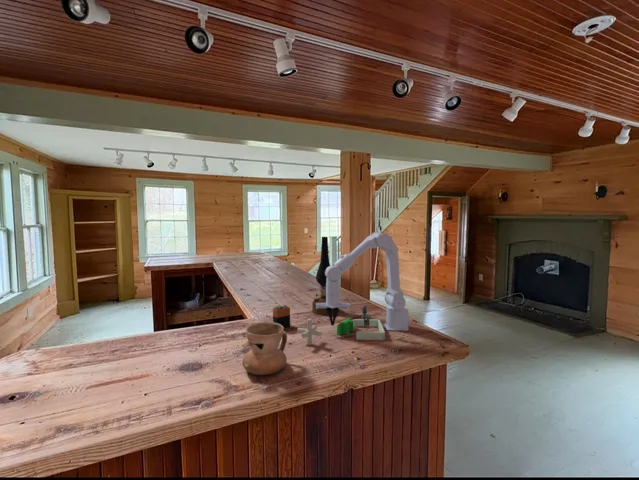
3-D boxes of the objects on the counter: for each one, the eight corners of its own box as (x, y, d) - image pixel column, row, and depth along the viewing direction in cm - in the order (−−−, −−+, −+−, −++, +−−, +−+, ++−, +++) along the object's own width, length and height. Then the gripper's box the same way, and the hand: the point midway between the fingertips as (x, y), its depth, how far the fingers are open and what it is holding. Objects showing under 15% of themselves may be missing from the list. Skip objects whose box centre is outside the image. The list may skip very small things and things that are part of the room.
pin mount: (370, 324, 148) (371, 316, 148) (361, 324, 148) (361, 316, 148) (370, 322, 151) (370, 314, 151) (361, 322, 152) (361, 314, 151)
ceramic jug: (255, 387, 96) (255, 341, 95) (230, 369, 106) (230, 328, 105) (300, 367, 109) (301, 326, 108) (274, 353, 119) (275, 316, 118)
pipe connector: (326, 341, 130) (326, 317, 129) (315, 351, 121) (315, 325, 120) (304, 337, 134) (303, 314, 133) (292, 346, 125) (291, 321, 124)
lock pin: (368, 321, 149) (368, 310, 148) (364, 321, 149) (364, 310, 148) (366, 315, 157) (366, 305, 156) (362, 315, 157) (362, 305, 157)
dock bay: (379, 325, 147) (379, 319, 146) (384, 339, 131) (385, 332, 131) (353, 325, 147) (353, 319, 147) (356, 339, 131) (356, 332, 131)
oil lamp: (341, 316, 171) (356, 242, 171) (326, 319, 158) (342, 239, 158) (319, 309, 178) (334, 238, 178) (304, 311, 165) (319, 235, 165)
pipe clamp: (344, 337, 134) (344, 326, 134) (337, 335, 136) (337, 325, 136) (356, 328, 144) (356, 318, 143) (349, 327, 146) (349, 317, 145)
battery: (272, 327, 145) (272, 305, 145) (285, 324, 149) (285, 303, 148) (277, 330, 142) (276, 308, 141) (290, 327, 146) (290, 305, 145)
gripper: (315, 296, 134) (315, 327, 136) (350, 296, 134) (349, 328, 135) (316, 291, 141) (316, 321, 143) (349, 292, 141) (348, 322, 142)
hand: (332, 324), depth 139 cm, fingers closed
